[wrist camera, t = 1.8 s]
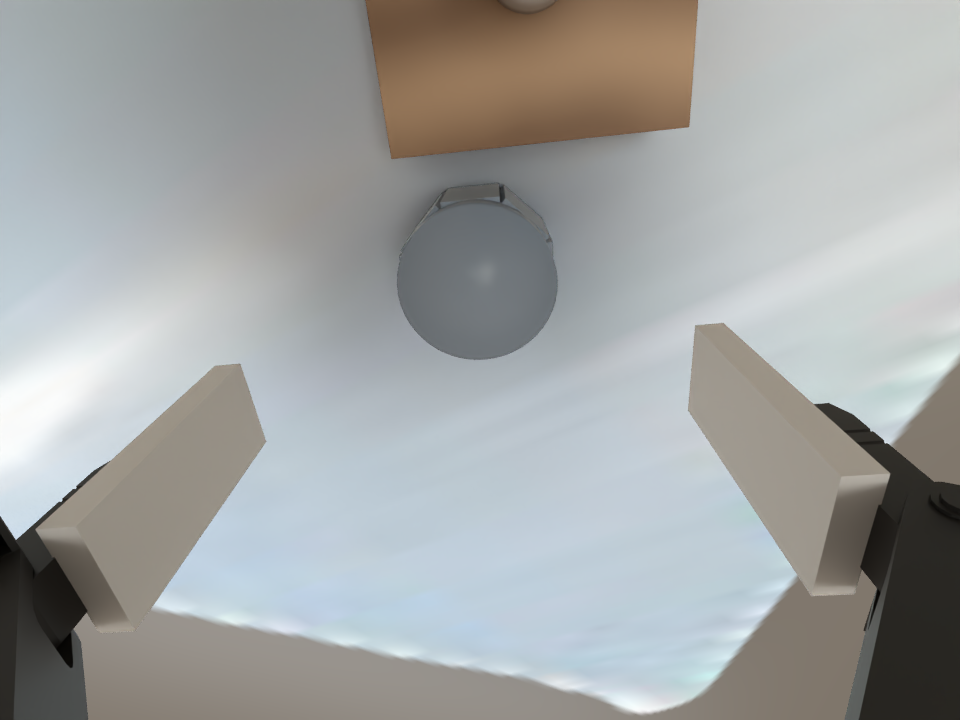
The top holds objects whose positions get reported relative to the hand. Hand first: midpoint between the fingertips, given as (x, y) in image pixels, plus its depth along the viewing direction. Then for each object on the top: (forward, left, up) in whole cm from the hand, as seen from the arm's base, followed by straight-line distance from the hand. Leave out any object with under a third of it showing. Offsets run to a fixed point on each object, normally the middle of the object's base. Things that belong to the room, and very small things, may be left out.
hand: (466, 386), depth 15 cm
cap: (0, 0, -14) cm, 14 cm away
